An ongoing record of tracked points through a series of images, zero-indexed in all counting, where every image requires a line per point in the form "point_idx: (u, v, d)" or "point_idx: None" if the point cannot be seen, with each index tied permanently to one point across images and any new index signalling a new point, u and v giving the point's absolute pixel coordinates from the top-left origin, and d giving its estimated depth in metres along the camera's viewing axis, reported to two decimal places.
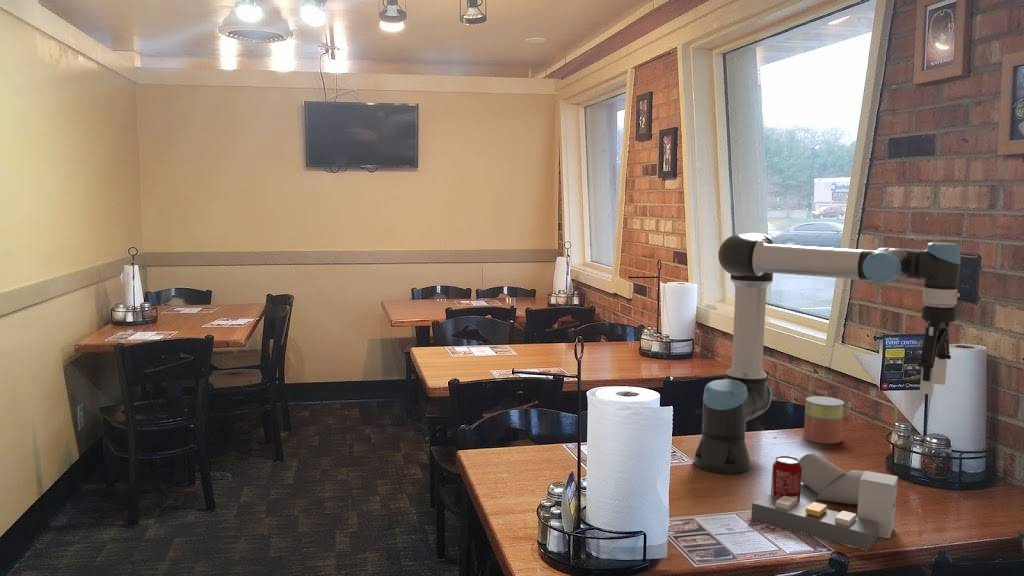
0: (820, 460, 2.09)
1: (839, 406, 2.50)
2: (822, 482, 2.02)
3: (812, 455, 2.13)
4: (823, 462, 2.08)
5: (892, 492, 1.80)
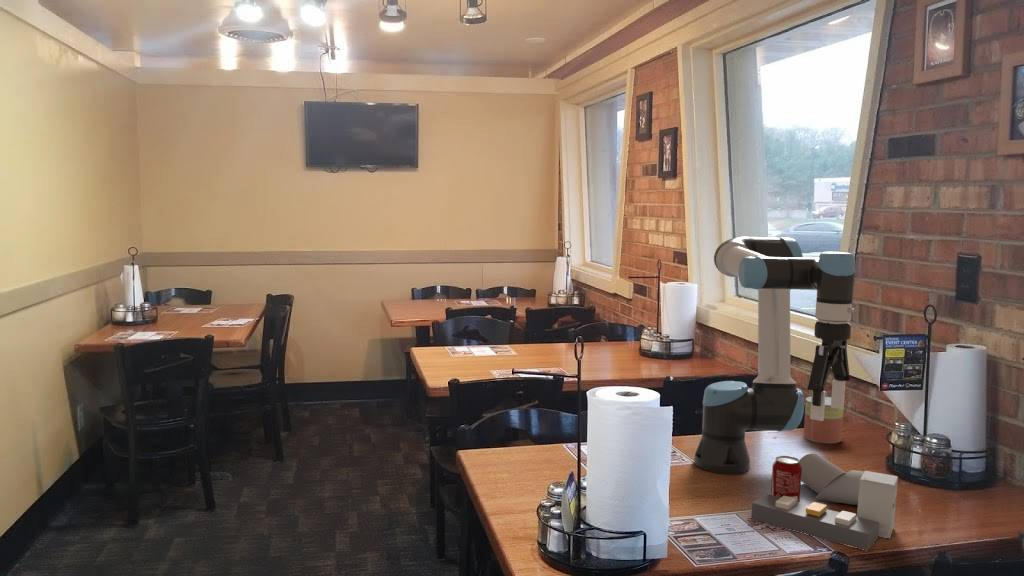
0: (820, 460, 2.09)
1: None
2: (821, 481, 2.02)
3: (813, 455, 2.13)
4: (823, 462, 2.08)
5: (892, 492, 1.80)
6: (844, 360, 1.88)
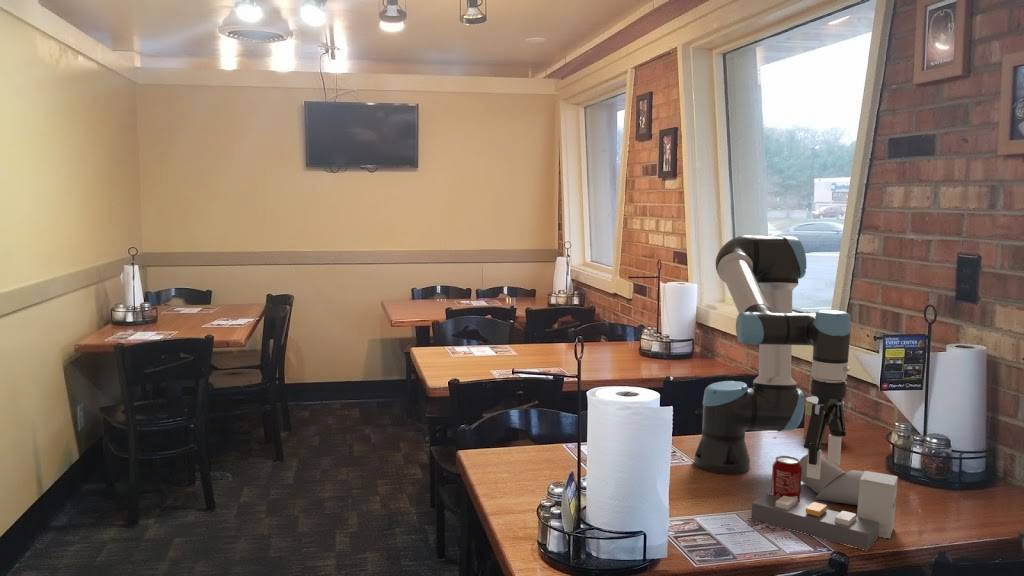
0: (821, 460, 2.09)
1: None
2: (821, 481, 2.02)
3: None
4: (823, 462, 2.08)
5: (892, 492, 1.80)
6: (840, 416, 1.90)
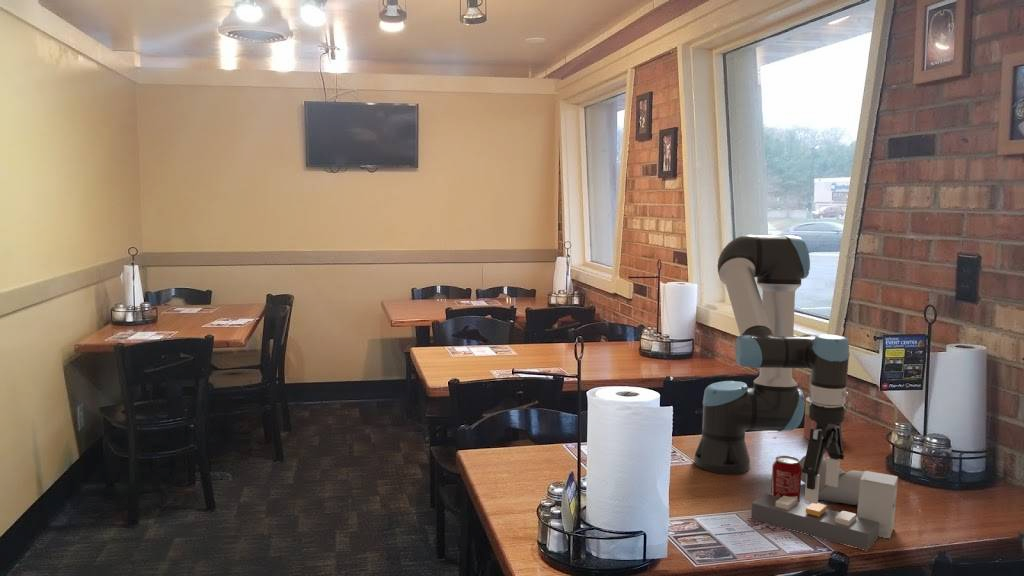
0: None
1: None
2: (821, 481, 2.02)
3: None
4: (824, 462, 2.08)
5: (892, 492, 1.80)
6: (838, 439, 1.91)
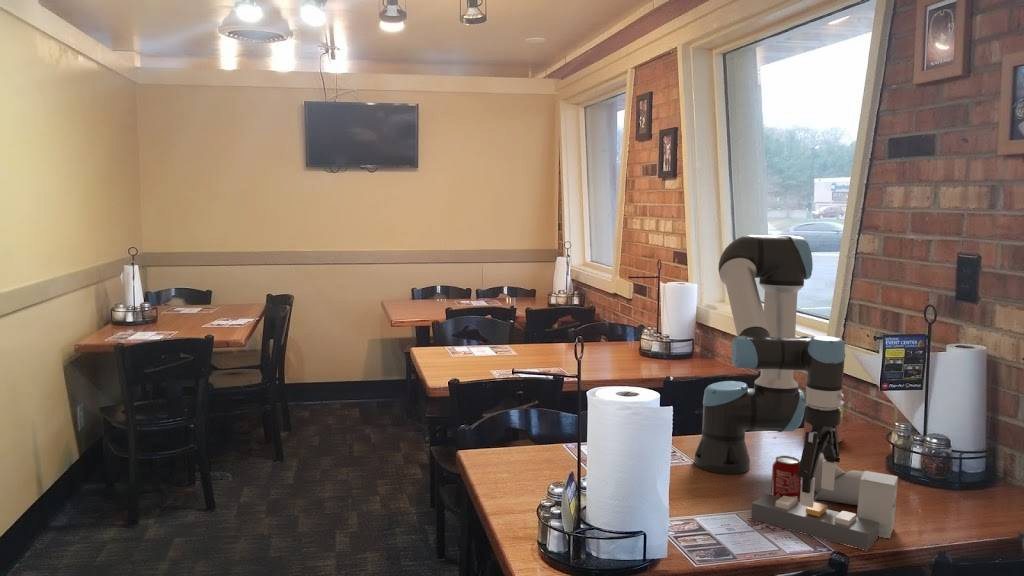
0: (821, 460, 2.10)
1: None
2: None
3: None
4: None
5: (892, 492, 1.80)
6: (834, 442, 1.89)
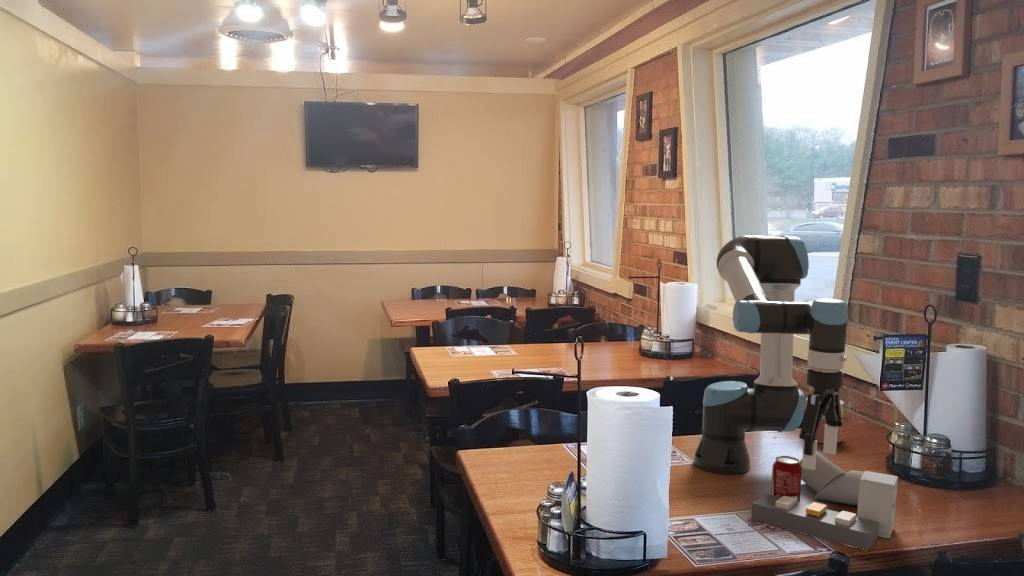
0: (821, 460, 2.10)
1: None
2: (820, 481, 2.02)
3: None
4: (824, 462, 2.08)
5: (892, 492, 1.80)
6: (836, 406, 1.88)
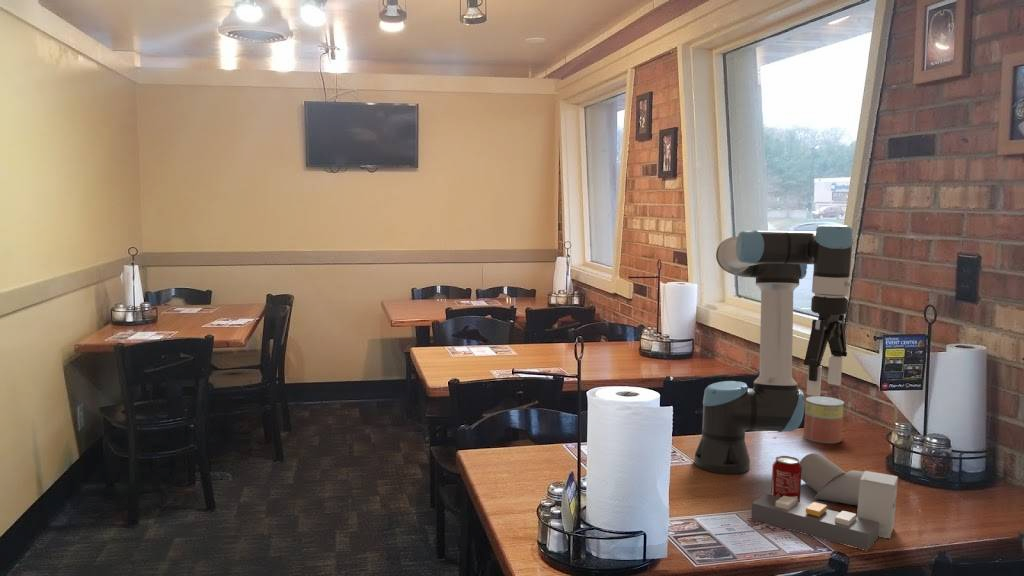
0: (821, 460, 2.10)
1: (839, 406, 2.50)
2: (820, 481, 2.02)
3: (814, 455, 2.14)
4: (824, 462, 2.08)
5: (892, 492, 1.80)
6: (841, 335, 1.86)
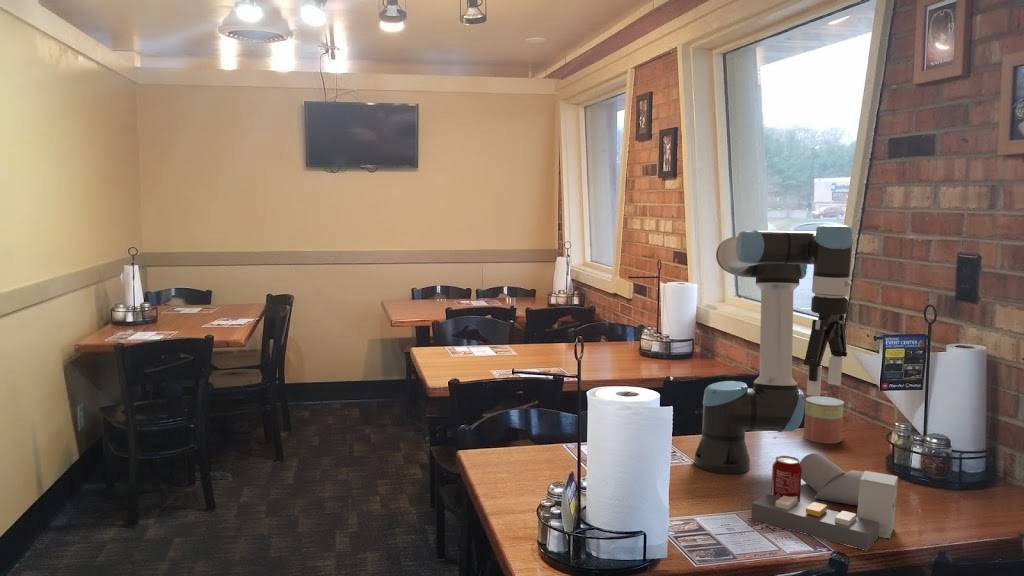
0: (822, 460, 2.10)
1: (839, 406, 2.50)
2: (820, 481, 2.03)
3: (815, 455, 2.14)
4: (824, 462, 2.08)
5: (892, 492, 1.80)
6: (841, 335, 1.85)
